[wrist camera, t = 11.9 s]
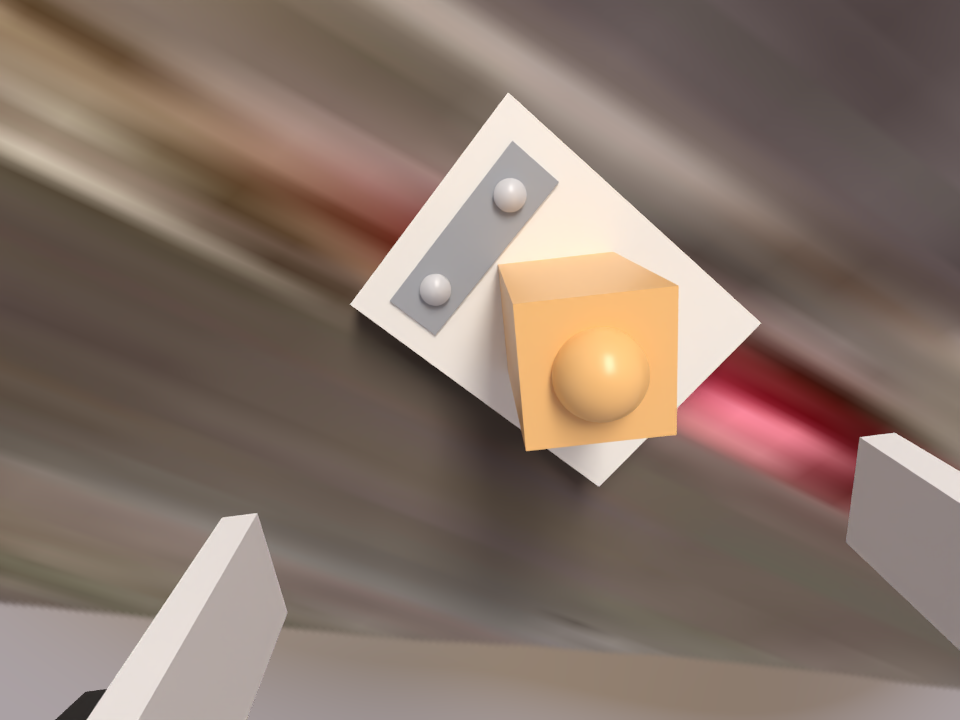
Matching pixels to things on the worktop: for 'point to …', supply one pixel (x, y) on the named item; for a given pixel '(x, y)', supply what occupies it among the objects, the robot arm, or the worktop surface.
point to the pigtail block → (527, 237)
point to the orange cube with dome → (590, 349)
